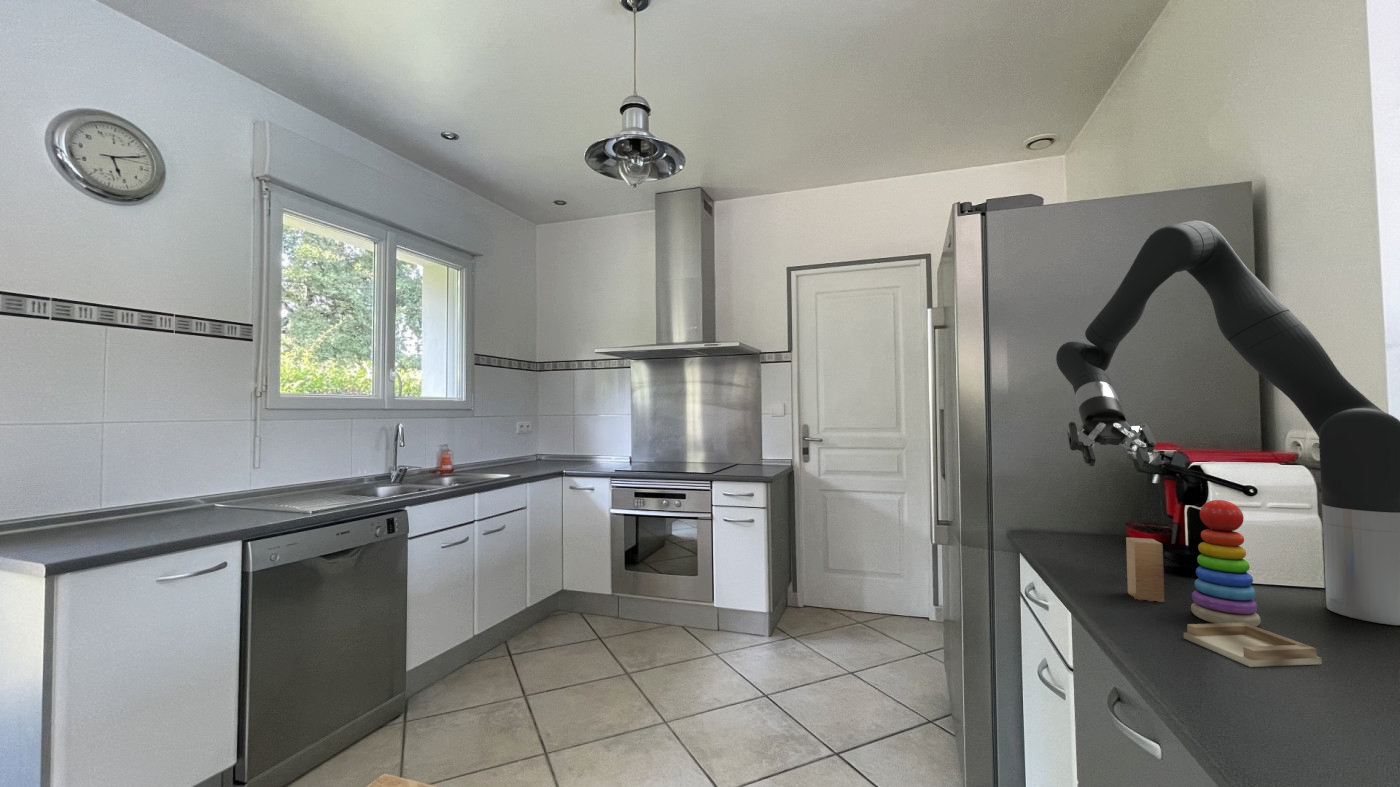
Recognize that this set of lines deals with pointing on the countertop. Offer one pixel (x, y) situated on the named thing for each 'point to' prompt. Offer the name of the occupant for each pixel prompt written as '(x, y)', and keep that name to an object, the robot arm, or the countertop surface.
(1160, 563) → the brown rectangular block
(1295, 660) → the wooden tray
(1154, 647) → the countertop surface
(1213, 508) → the stacking toy
